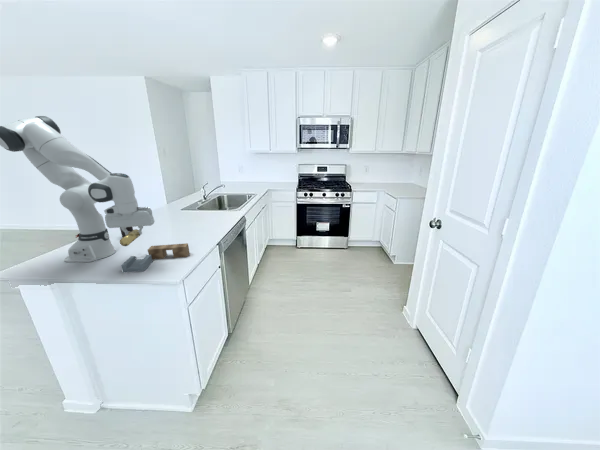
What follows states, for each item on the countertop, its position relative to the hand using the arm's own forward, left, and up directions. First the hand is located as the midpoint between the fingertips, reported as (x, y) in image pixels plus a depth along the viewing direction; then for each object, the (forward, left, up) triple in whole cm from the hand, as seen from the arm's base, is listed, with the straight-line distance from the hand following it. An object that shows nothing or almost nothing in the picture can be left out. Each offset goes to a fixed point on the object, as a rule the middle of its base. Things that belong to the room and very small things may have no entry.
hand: (134, 234), depth 121 cm
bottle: (-26, +45, -17) cm, 55 cm away
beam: (+12, +7, -16) cm, 21 cm away
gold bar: (0, -4, -2) cm, 4 cm away
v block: (0, -3, -16) cm, 17 cm away
